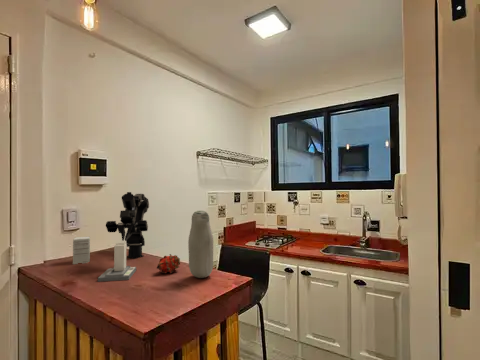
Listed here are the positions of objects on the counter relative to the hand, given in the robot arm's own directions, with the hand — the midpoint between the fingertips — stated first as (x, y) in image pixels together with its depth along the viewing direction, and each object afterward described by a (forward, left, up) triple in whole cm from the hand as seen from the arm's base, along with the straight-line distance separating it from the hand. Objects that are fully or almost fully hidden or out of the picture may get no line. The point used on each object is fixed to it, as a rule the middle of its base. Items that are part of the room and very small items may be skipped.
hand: (124, 240), depth 128 cm
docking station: (+7, +6, -14) cm, 16 cm away
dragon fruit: (-7, +22, -14) cm, 27 cm away
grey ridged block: (+2, -32, -14) cm, 35 cm away
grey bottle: (-9, +39, -14) cm, 42 cm away
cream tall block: (+5, +4, -12) cm, 13 cm away
